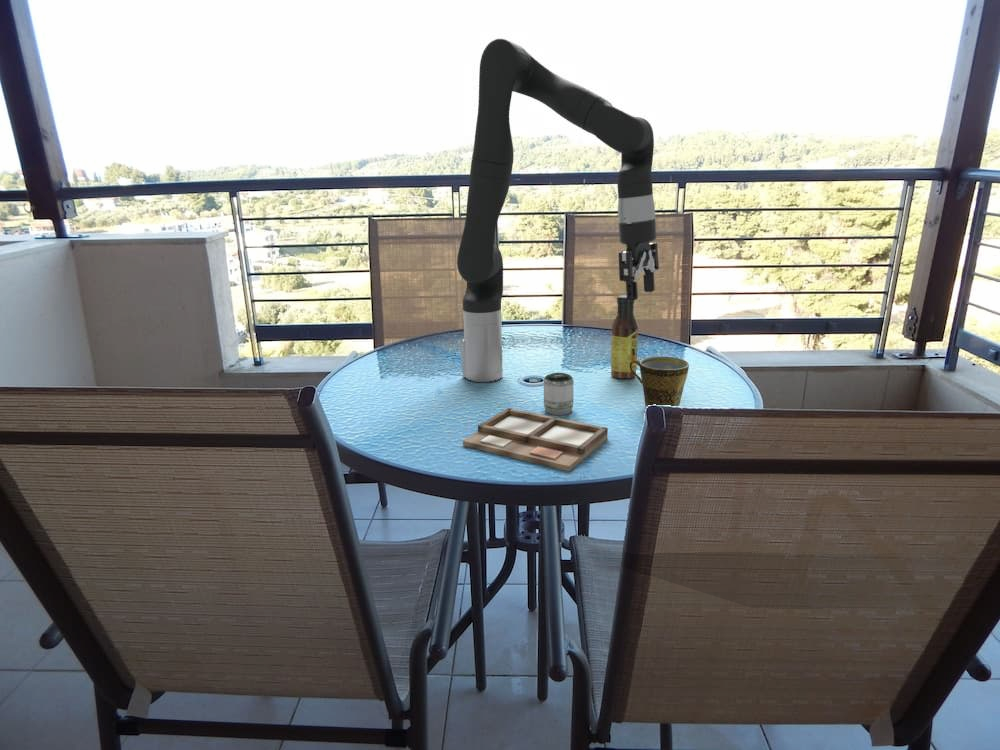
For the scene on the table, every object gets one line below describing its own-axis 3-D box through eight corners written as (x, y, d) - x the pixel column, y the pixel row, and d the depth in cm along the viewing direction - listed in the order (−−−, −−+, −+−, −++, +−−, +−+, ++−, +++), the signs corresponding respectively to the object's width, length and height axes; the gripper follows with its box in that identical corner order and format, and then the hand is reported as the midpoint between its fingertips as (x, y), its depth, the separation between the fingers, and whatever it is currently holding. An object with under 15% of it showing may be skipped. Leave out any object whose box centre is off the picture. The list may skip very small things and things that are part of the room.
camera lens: (578, 413, 131) (579, 377, 129) (551, 417, 129) (551, 381, 126) (564, 403, 137) (565, 369, 134) (538, 408, 134) (538, 373, 132)
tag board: (463, 445, 116) (462, 434, 116) (508, 418, 129) (507, 408, 128) (569, 471, 105) (569, 459, 104) (607, 438, 118) (607, 427, 117)
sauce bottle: (636, 380, 151) (639, 299, 145) (610, 379, 152) (612, 298, 146) (636, 372, 157) (639, 294, 151) (610, 371, 158) (613, 293, 152)
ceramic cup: (694, 406, 133) (697, 361, 130) (672, 420, 126) (675, 372, 123) (640, 394, 141) (642, 351, 138) (616, 406, 134) (617, 361, 131)
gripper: (635, 216, 138) (639, 289, 142) (604, 224, 127) (610, 302, 132) (667, 214, 133) (670, 289, 138) (638, 221, 123) (643, 302, 127)
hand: (641, 295), depth 135 cm, fingers open, 8 cm apart
